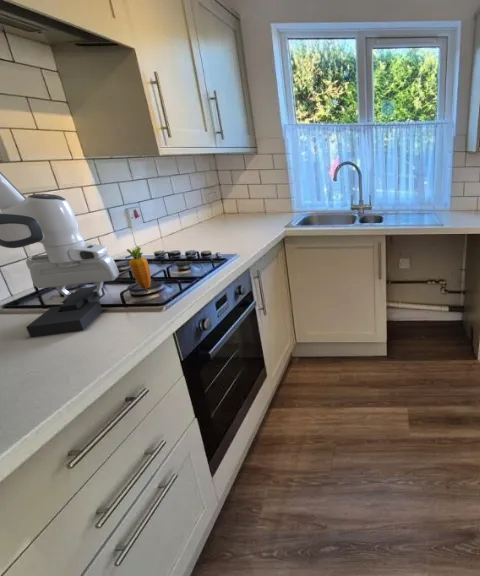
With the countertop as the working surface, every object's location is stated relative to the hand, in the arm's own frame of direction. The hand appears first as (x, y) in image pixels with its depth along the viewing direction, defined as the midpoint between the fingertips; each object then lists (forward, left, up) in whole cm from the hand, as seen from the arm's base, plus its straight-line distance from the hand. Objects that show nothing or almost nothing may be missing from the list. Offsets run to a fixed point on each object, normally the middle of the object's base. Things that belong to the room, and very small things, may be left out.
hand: (85, 297), depth 107 cm
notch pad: (0, -11, -3) cm, 12 cm away
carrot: (+14, +7, -3) cm, 16 cm away
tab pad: (0, -2, -2) cm, 3 cm away
